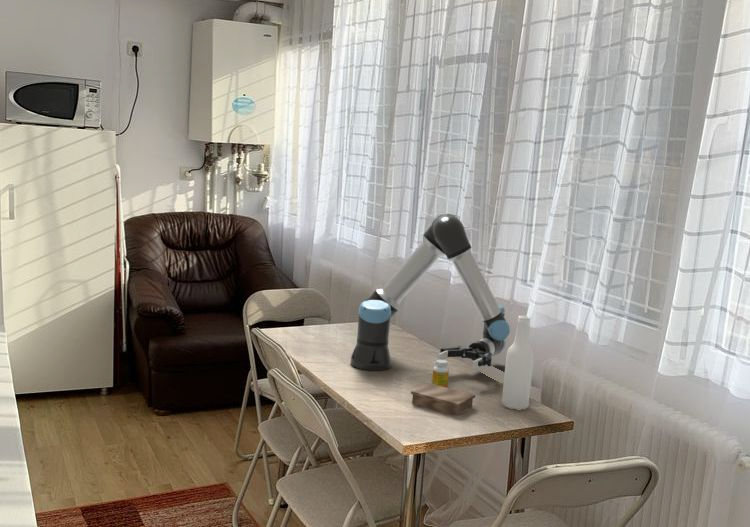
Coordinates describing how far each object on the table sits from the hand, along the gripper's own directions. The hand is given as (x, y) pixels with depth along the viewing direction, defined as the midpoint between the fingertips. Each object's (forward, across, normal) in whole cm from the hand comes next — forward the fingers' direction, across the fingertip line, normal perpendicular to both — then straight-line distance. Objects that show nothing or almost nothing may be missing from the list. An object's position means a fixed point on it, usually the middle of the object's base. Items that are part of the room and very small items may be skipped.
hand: (455, 361), depth 277 cm
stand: (+25, -9, -8) cm, 28 cm away
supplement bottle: (+10, 0, -8) cm, 13 cm away
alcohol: (+8, -27, -8) cm, 29 cm away
